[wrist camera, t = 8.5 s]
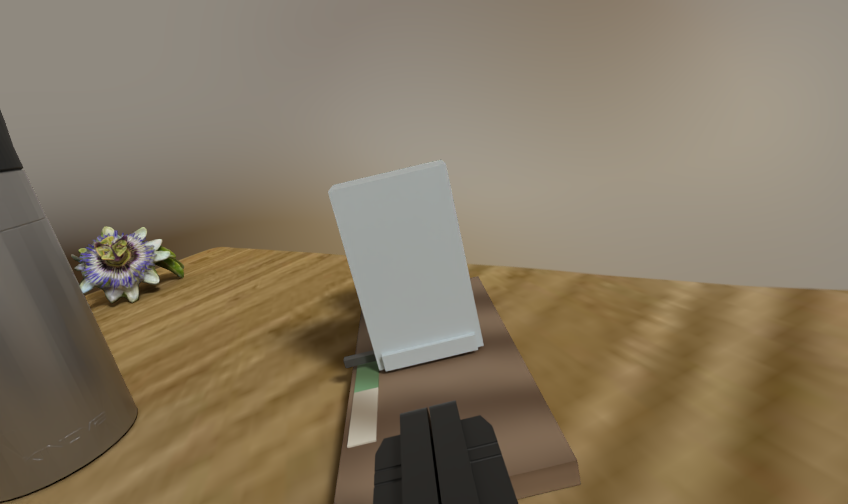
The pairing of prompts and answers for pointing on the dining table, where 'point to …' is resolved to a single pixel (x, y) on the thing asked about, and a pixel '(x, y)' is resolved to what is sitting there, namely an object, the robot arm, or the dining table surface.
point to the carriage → (407, 266)
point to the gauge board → (475, 395)
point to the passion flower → (123, 263)
